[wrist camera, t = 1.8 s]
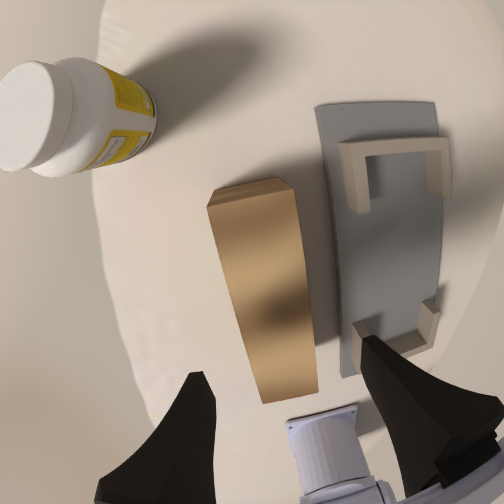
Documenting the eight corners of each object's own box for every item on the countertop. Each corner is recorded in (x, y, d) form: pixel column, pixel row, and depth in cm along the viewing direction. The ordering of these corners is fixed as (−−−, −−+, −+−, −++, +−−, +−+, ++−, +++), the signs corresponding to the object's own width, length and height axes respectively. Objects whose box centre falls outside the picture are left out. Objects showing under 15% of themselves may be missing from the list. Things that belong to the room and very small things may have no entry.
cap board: (421, 345, 23) (434, 362, 21) (339, 372, 23) (348, 394, 21) (427, 103, 15) (451, 102, 12) (314, 107, 15) (328, 101, 13)
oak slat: (304, 348, 22) (318, 392, 18) (257, 358, 22) (262, 403, 18) (277, 176, 17) (293, 188, 12) (214, 189, 17) (206, 207, 12)
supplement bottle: (95, 79, 14) (-5, 49, 4) (169, 86, 14) (97, 34, 5) (77, 156, 15) (-30, 182, 6) (147, 169, 16) (58, 204, 7)
